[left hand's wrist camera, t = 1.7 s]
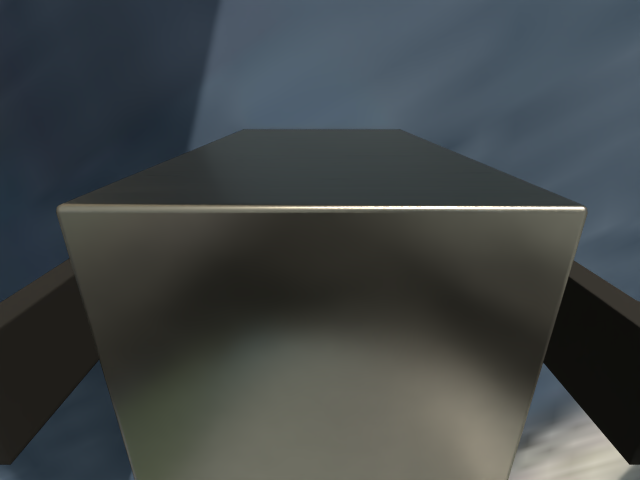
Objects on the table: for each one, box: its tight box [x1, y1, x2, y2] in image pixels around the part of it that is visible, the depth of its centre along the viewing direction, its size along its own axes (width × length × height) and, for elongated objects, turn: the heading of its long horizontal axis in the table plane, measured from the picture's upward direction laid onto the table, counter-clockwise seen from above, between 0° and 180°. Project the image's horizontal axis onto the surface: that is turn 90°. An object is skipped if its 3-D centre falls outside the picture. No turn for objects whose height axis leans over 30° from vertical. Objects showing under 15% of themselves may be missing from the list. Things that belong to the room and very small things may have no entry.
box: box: [56, 129, 587, 480], centre depth 13 cm, size 22×6×10 cm, turn 0°
